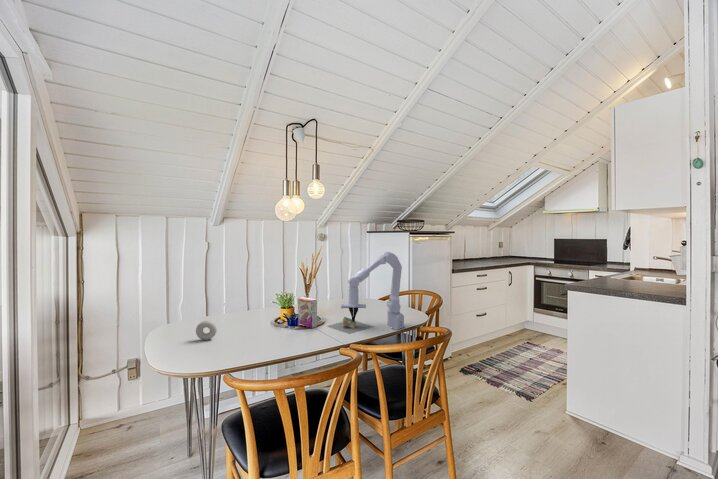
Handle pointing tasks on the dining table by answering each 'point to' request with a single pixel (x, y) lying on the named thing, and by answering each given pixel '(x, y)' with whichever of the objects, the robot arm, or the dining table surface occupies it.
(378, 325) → the dining table surface
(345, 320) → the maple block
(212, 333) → the donut
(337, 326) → the rubber mat
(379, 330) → the dining table surface
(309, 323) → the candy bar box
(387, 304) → the robot arm
